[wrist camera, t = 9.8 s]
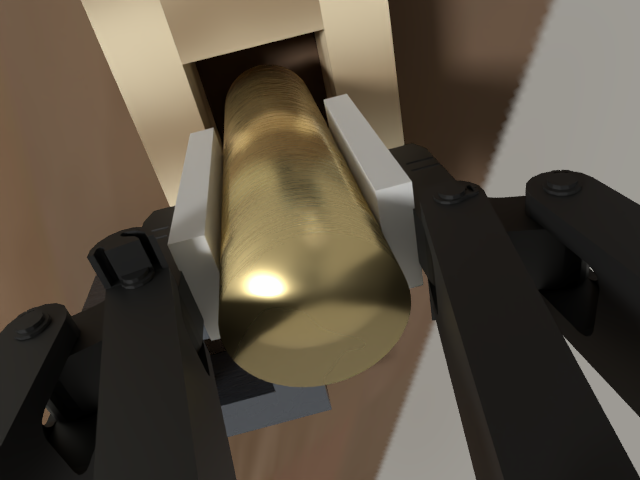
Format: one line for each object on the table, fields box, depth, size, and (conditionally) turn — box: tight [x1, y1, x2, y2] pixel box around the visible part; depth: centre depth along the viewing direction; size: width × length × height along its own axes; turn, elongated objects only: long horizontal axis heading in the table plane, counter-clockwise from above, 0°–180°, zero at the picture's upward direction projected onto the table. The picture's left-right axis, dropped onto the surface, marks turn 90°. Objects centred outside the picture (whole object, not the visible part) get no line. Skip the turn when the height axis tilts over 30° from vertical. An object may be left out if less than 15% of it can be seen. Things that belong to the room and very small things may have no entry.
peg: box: [218, 65, 411, 387], centre depth 15 cm, size 4×4×13 cm
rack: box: [81, 0, 404, 207], centre depth 20 cm, size 12×10×4 cm
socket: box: [82, 276, 331, 437], centre depth 26 cm, size 10×10×4 cm
